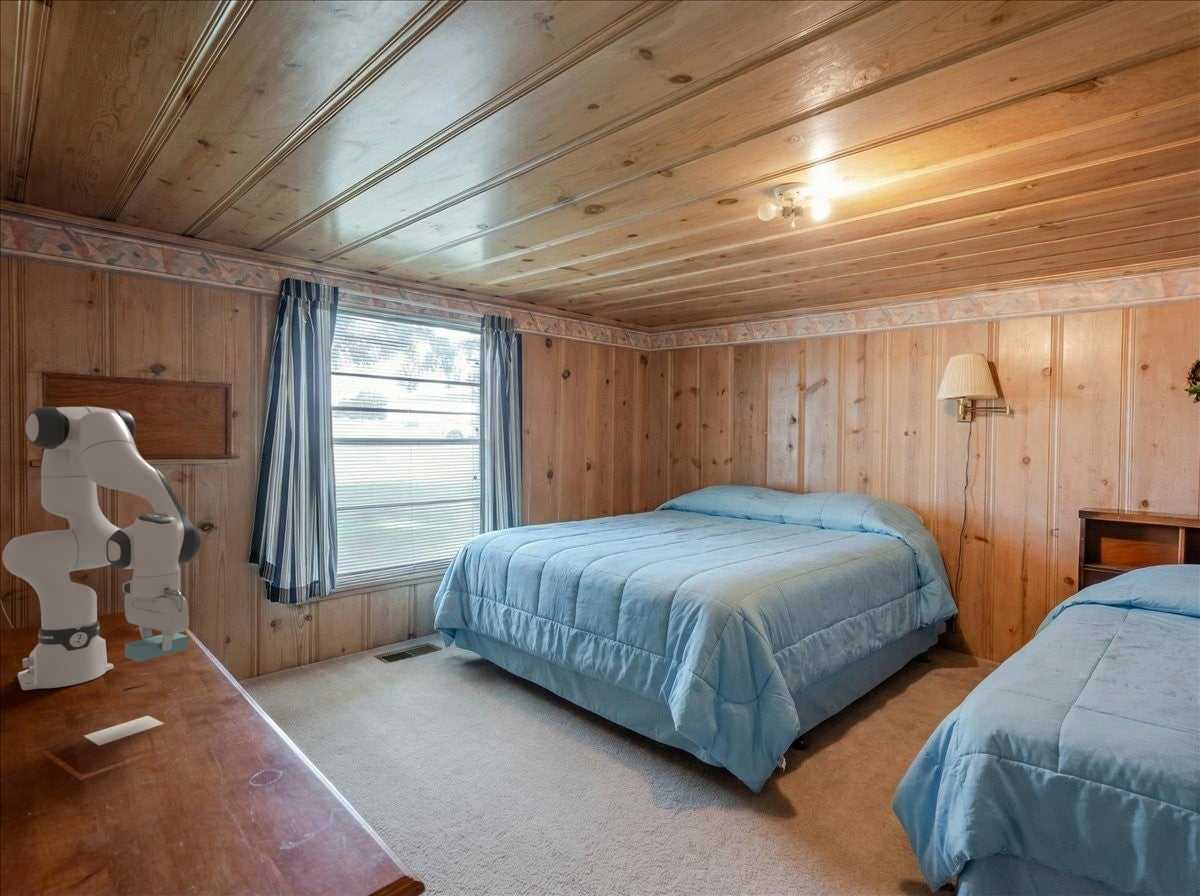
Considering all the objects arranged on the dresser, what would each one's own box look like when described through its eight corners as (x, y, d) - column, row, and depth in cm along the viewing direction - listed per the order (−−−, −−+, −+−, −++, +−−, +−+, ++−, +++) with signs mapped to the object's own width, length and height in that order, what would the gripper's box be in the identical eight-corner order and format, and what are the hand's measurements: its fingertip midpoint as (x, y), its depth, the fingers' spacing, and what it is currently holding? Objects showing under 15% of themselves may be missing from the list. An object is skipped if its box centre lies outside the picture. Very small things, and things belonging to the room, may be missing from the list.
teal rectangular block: (173, 644, 147) (173, 631, 147) (187, 648, 144) (187, 636, 144) (124, 656, 138) (124, 643, 138) (138, 661, 135) (138, 648, 135)
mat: (68, 731, 133) (68, 727, 133) (164, 702, 148) (164, 699, 148) (102, 751, 123) (102, 748, 123) (200, 718, 139) (200, 715, 139)
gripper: (197, 588, 139) (197, 650, 139) (149, 579, 149) (149, 637, 149) (166, 594, 133) (166, 658, 133) (118, 584, 143) (118, 644, 143)
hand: (156, 647), depth 141 cm, fingers closed on teal rectangular block, 6 cm apart
